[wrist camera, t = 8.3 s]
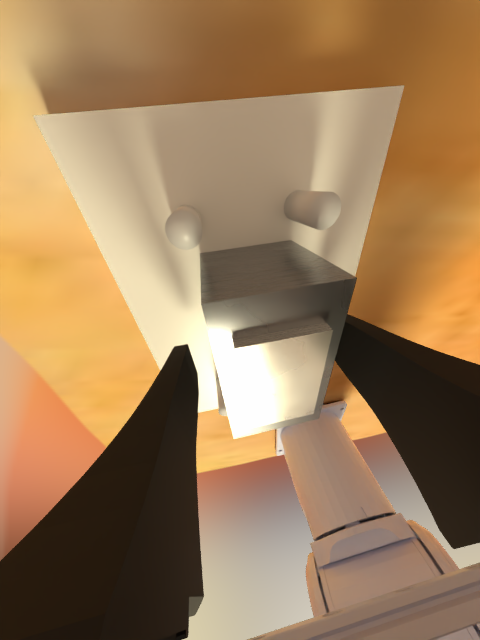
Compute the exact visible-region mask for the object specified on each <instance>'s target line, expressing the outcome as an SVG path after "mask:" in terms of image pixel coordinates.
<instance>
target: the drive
mask: <svg viewBox="0 0 480 640" xmlns="http://www.w3.org/2000/svg"><path fill="white" fill-rule="evenodd" d="M356 279H357V277H355V276H353V275H351V274H350V273H348V272H346V271H344V270H343V269H341V268H339V267H337V266H336V265H334V264H332V263H330V262H329V261H327V260H325V259H323V258H322V257H320V256H318V255H316V254H315V253H313V252H311V251H309V250H308V249H306V248H304V247H302V246H301V245H299V244H297V243H295V242H294V241H292V240H288V241H281V242H274V243H267V244H260V245H253V246H246V247H239V248H233V249H226V250H219V251H212V252H205V253H200V280H201V305H202V310H203V314H204V318H205V322H206V326H207V330H208V334H209V339H210V343H211V347H212V351H213V355H214V359H215V364H216V368H217V372H218V376H219V380H220V384H221V388H222V393H223V397H224V401H225V405H226V409H227V413H228V417H229V422H230V426H231V430H232V434H233V438H234V439H236V438H240V437H244V436H249V435H253V434H257V433H261V432H266V431H270V430H274V429H278V428H283V427H287V426H291V425H295V424H300V423H304V422H308V421H312V420H317V419H319V417H320V413H321V409H322V406H323V402H324V398H325V394H326V391H327V387H328V383H329V380H330V376H331V372H332V368H333V365H334V361H335V357H336V353H337V350H338V346H339V342H340V339H341V335H342V331H343V327H344V324H345V320H346V316H347V313H348V309H349V305H350V301H351V298H352V294H353V290H354V287H355V283H356Z"/></svg>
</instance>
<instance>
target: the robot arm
mask: <svg viewBox="0 0 480 640" xmlns="http://www.w3.org/2000/svg"><path fill="white" fill-rule="evenodd" d="M335 361H336V363H337V364H338V365H339V367H340V368H341V369H342V371H343V372H344V373H345V375H346V376H347V377H348V379H349V380H350V381H351V383H352V384H353V385H354V386H355V388H356V389H357V390H358V392H359V393H360V394H361V395H362V397H363V398H364V399H365V401H366V402H367V403H368V405H369V406H370V407H371V409H372V410H373V412H374V413H375V415H376V416H377V418H378V419H379V421H380V422H381V424H382V426H383V427H384V429H385V430H386V432H387V433H388V435H389V437H390V438H391V440H392V442H393V443H394V445H395V447H396V449H397V450H398V452H399V454H400V455H401V457H402V459H403V461H404V462H405V464H406V466H407V468H408V469H409V471H410V473H411V475H412V477H413V479H414V480H415V482H416V484H417V486H418V488H419V490H420V492H421V494H422V496H423V498H424V500H425V502H426V503H427V505H428V507H429V509H430V511H431V513H432V515H433V517H434V520H435V522H436V524H437V526H438V528H439V530H440V531H441V533H442V534H443V536H444V537H445V539H446V540H447V541H448V543H449V544H450V545H451V547H452V548H453V549H456V548H460V547H464V546H468V545H472V544H476V543H480V365H478V364H475V363H472V362H469V361H465V360H462V359H459V358H456V357H453V356H450V355H447V354H444V353H441V352H438V351H436V350H433V349H430V348H427V347H425V346H422V345H420V344H417V343H415V342H412V341H409V340H407V339H405V338H402V337H400V336H397V335H395V334H393V333H390V332H388V331H386V330H383V329H381V328H379V327H376V326H374V325H372V324H370V323H367V322H365V321H363V320H360V319H358V318H355V317H353V316H350V315H348V314H347V316H346V320H345V324H344V327H343V331H342V335H341V339H340V342H339V346H338V350H337V353H336V357H335ZM198 400H199V387H198V373H197V370H196V367H195V364H194V361H193V358H192V355H191V352H190V349H189V346H188V344H184V345H179V346H174V348H173V349H172V351H171V353H170V355H169V356H168V358H167V360H166V362H165V364H164V365H163V367H162V369H161V371H160V372H159V374H158V376H157V377H156V379H155V381H154V383H153V384H152V386H151V387H150V389H149V391H148V392H147V394H146V395H145V397H144V398H143V400H142V401H141V403H140V404H139V406H138V407H137V409H136V410H135V411H134V413H133V414H132V416H131V417H130V418H129V420H128V421H127V423H126V424H125V425H124V426H123V428H122V429H121V430H120V432H119V433H118V434H117V436H116V437H115V438H114V439H113V441H112V442H111V443H110V444H109V445H108V447H107V448H106V449H105V450H104V452H103V453H102V454H101V455H100V457H99V458H98V459H97V460H96V461H95V462H94V463H93V465H92V466H91V467H90V468H89V469H88V470H87V472H86V473H85V474H84V475H83V476H82V477H81V478H80V479H79V481H78V482H77V483H76V484H75V485H74V486H73V487H72V488H71V489H70V490H69V491H68V492H67V493H66V495H65V496H64V497H63V498H62V499H61V500H60V501H59V502H58V503H57V504H56V505H55V506H54V507H53V509H52V510H51V511H50V512H49V513H48V514H47V515H46V516H45V517H44V518H43V519H42V520H41V521H40V522H39V523H38V524H37V525H36V526H35V527H34V528H33V529H32V530H31V531H30V532H29V533H28V534H27V535H26V536H25V537H24V538H23V539H22V540H21V541H20V542H19V543H18V544H17V545H16V546H15V547H14V548H13V549H12V550H11V551H10V552H9V553H8V554H7V555H6V556H5V557H4V558H3V559H2V560H1V561H0V640H182V639H185V638H187V637H188V626H189V625H188V624H189V617H190V616H194V615H195V614H196V612H197V610H198V608H199V606H200V604H201V602H202V600H203V597H204V593H203V580H202V565H201V551H200V535H199V518H198V497H197V471H196V437H197V419H198ZM346 406H347V403H346V402H345V401H339V402H335V403H330V404H326V405H323V406H322V409H321V413H320V417H319V419H317V420H312V421H308V422H304V423H300V424H295V425H291V426H287V427H283V428H278V429H276V455H278V456H279V455H285V458H286V461H287V465H288V468H289V471H290V474H291V477H292V480H293V483H294V486H295V490H296V492H297V496H298V499H299V502H300V505H301V508H302V510H303V513H304V515H305V516H306V518H307V521H308V524H309V527H310V530H311V533H312V536H313V539H314V541H315V542H312V543H311V548H312V551H313V552H312V553H310V554H309V555H308V562H307V566H306V580H307V587H308V592H309V598H310V602H311V607H312V611H313V615H314V618H311V619H308V620H305V621H302V622H299V623H296V624H293V625H290V626H287V627H284V628H281V629H278V630H275V631H272V632H269V633H266V634H263V635H260V636H257V637H254V638H251V639H248V640H480V563H477V564H474V565H471V566H468V567H465V568H462V569H459V568H458V567H457V566H456V564H455V562H454V561H453V560H452V558H451V557H450V556H449V555H448V553H447V552H446V551H445V549H444V548H443V547H442V546H441V544H440V543H439V542H438V541H437V540H436V538H435V537H434V536H433V535H432V534H431V533H430V532H429V531H428V530H427V529H426V528H424V527H422V526H420V525H419V524H417V523H416V522H415V521H413V520H408V521H406V520H405V519H404V517H403V516H402V514H401V513H398V514H396V512H395V510H394V509H393V507H392V505H391V504H390V502H389V500H388V499H387V497H386V495H385V494H384V492H383V490H382V489H381V487H380V486H379V484H378V482H377V481H376V479H375V477H374V476H373V474H372V472H371V471H370V469H369V467H368V466H367V464H366V463H365V461H364V459H363V458H362V456H361V454H360V453H359V451H358V450H357V448H356V446H355V444H354V443H353V441H352V439H351V438H350V436H349V434H348V433H347V431H346V429H345V428H344V426H343V425H342V423H341V419H342V417H343V414H344V412H345V409H346Z"/></svg>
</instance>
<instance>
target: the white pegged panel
mask: <svg viewBox="0 0 480 640" xmlns="http://www.w3.org/2000/svg"><path fill="white" fill-rule="evenodd" d="M403 89H404V85H402V86H390V87H378V88H365V89H353V90H341V91H329V92H316V93H304V94H292V95H280V96H267V97H255V98H243V99H230V100H218V101H206V102H194V103H181V104H169V105H157V106H145V107H132V108H120V109H108V110H96V111H83V112H71V113H59V114H46V115H34V116H33V117H34V119H35V121H36V123H37V125H38V127H39V129H40V131H41V133H42V135H43V137H44V139H45V141H46V143H47V145H48V147H49V149H50V151H51V153H52V155H53V157H54V159H55V161H56V163H57V165H58V167H59V169H60V171H61V173H62V175H63V177H64V179H65V181H66V183H67V185H68V187H69V189H70V191H71V193H72V195H73V197H74V199H75V201H76V203H77V205H78V207H79V209H80V211H81V213H82V215H83V217H84V219H85V221H86V223H87V225H88V227H89V229H90V231H91V233H92V235H93V237H94V239H95V241H96V243H97V245H98V247H99V249H100V251H101V253H102V255H103V257H104V259H105V261H106V263H107V265H108V267H109V269H110V271H111V273H112V275H113V277H114V279H115V281H116V283H117V285H118V287H119V289H120V291H121V293H122V295H123V297H124V299H125V301H126V303H127V305H128V307H129V309H130V311H131V313H132V315H133V317H134V319H135V321H136V323H137V325H138V327H139V329H140V331H141V333H142V335H143V337H144V339H145V341H146V343H147V345H148V347H149V349H150V351H151V353H152V355H153V357H154V359H155V361H156V363H157V365H158V367H159V369H160V371H161V369H162V367H163V365H164V364H165V362H166V360H167V358H168V356H169V355H170V353H171V351H172V349H173V348H174V346H179V345H184V344H188V346H189V349H190V352H191V355H192V358H193V361H194V364H195V367H196V370H197V373H198V387H199V400H198V413H199V412H203V411H208V410H212V409H217V408H218V409H219V414H220V415H223V416H228V413H227V409H226V405H225V401H224V397H223V393H222V388H221V384H220V380H219V376H218V372H217V368H216V364H215V359H214V355H213V351H212V347H211V343H210V339H209V334H208V330H207V326H206V322H205V318H204V314H203V310H202V305H201V280H200V253H205V252H212V251H219V250H226V249H233V248H239V247H246V246H253V245H260V244H267V243H274V242H281V241H288V240H292V241H294V242H295V243H297V244H299V245H301V246H302V247H304V248H306V249H308V250H309V251H311V252H313V253H315V254H316V255H318V256H320V257H322V258H323V259H325V260H327V261H329V262H330V263H332V264H334V265H336V266H337V267H339V268H341V269H343V270H344V271H346V272H348V273H350V274H351V275H353V276H355V275H356V271H357V267H358V264H359V260H360V256H361V252H362V248H363V244H364V240H365V236H366V233H367V229H368V225H369V221H370V217H371V213H372V209H373V205H374V202H375V198H376V194H377V190H378V186H379V182H380V178H381V174H382V171H383V167H384V163H385V159H386V155H387V151H388V147H389V143H390V140H391V136H392V132H393V128H394V124H395V120H396V116H397V112H398V109H399V105H400V101H401V97H402V93H403Z"/></svg>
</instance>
